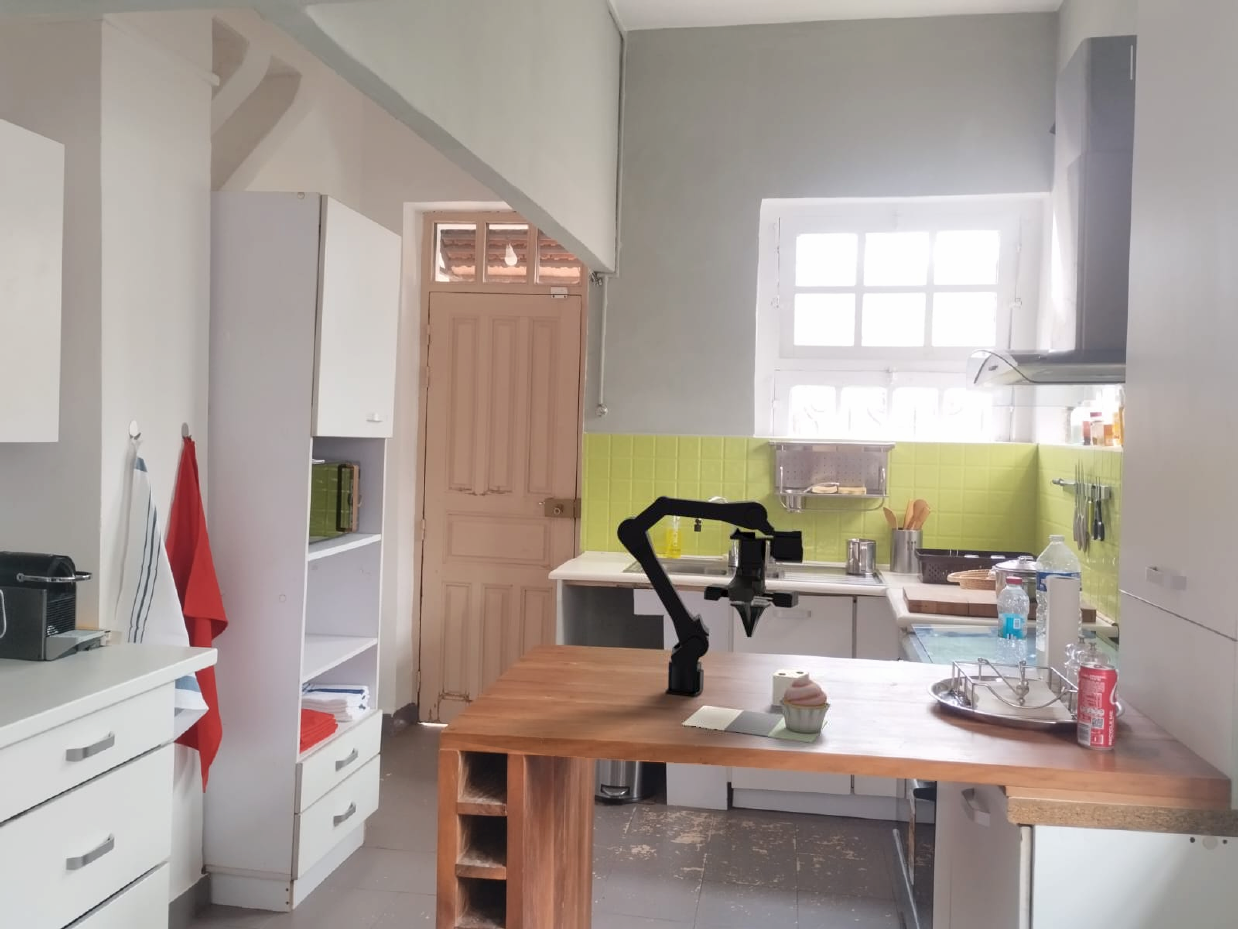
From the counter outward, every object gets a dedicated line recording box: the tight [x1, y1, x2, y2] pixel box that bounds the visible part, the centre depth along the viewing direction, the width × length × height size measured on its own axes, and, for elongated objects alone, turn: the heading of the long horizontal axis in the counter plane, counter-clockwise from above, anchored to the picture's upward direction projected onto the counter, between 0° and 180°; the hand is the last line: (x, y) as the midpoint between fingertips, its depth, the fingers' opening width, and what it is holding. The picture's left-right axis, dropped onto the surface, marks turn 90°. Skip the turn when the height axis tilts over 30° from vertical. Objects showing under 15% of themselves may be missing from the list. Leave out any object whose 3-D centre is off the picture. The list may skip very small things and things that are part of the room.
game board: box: [681, 705, 828, 744], centre depth 181 cm, size 24×14×1 cm, turn 68°
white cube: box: [771, 668, 810, 707], centre depth 196 cm, size 6×6×6 cm
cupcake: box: [779, 674, 831, 733], centre depth 177 cm, size 9×9×10 cm
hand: (749, 637), depth 201 cm, fingers closed
